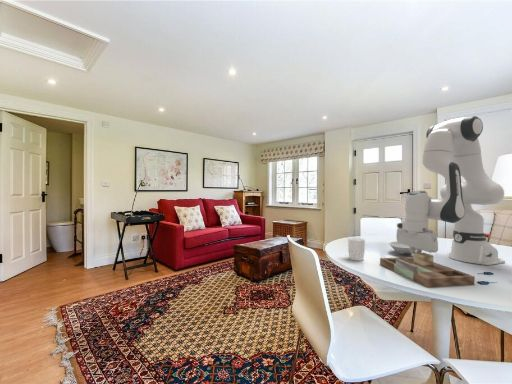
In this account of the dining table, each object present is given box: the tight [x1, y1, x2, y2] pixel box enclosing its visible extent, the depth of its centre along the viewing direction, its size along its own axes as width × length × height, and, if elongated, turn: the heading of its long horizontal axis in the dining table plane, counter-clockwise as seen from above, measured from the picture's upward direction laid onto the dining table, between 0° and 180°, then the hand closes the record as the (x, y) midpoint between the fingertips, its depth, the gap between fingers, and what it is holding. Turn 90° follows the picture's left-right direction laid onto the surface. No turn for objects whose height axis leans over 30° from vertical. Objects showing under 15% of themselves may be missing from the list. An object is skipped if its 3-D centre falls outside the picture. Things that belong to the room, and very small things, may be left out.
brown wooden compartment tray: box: [379, 256, 476, 288], centre depth 103 cm, size 20×26×6 cm
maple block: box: [414, 252, 434, 265], centre depth 107 cm, size 5×5×4 cm
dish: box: [388, 240, 416, 255], centre depth 134 cm, size 18×14×5 cm
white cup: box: [347, 236, 366, 262], centre depth 123 cm, size 8×8×10 cm
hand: (415, 257), depth 112 cm, fingers closed
